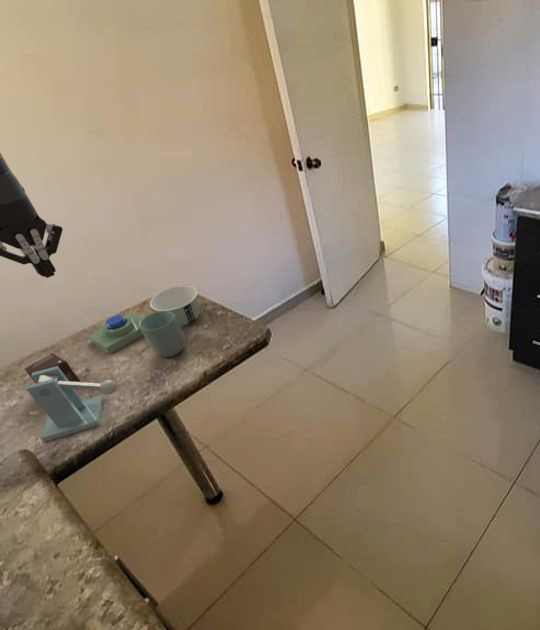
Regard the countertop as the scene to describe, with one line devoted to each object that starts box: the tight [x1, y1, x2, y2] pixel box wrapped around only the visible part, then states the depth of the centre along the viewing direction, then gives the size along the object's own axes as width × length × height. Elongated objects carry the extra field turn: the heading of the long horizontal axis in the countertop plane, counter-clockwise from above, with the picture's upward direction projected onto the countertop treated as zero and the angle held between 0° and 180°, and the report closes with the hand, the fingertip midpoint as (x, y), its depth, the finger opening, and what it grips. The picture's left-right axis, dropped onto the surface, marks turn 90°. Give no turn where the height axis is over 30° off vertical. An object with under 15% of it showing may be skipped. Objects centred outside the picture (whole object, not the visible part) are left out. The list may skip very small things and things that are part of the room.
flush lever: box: [38, 375, 118, 396], centre depth 89 cm, size 13×3×3 cm
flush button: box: [105, 314, 126, 329], centre depth 113 cm, size 4×4×2 cm
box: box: [24, 352, 82, 384], centre depth 99 cm, size 6×6×7 cm
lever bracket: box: [25, 366, 105, 443], centre depth 89 cm, size 10×8×13 cm
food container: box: [149, 285, 201, 327], centre depth 120 cm, size 12×12×6 cm
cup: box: [139, 311, 186, 358], centre depth 107 cm, size 8×8×10 cm
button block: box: [88, 312, 144, 355], centre depth 114 cm, size 12×9×4 cm
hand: (49, 275), depth 93 cm, fingers closed
